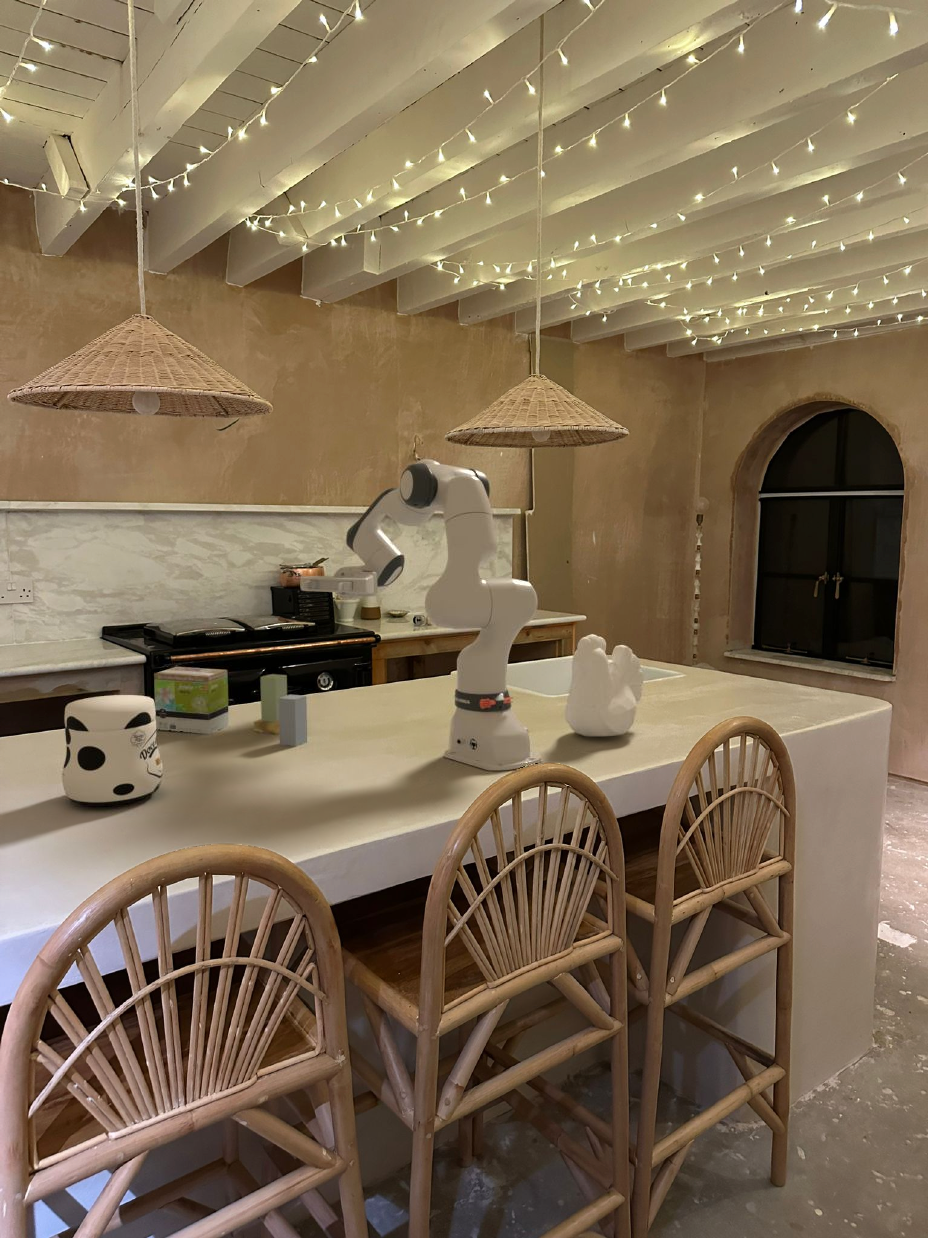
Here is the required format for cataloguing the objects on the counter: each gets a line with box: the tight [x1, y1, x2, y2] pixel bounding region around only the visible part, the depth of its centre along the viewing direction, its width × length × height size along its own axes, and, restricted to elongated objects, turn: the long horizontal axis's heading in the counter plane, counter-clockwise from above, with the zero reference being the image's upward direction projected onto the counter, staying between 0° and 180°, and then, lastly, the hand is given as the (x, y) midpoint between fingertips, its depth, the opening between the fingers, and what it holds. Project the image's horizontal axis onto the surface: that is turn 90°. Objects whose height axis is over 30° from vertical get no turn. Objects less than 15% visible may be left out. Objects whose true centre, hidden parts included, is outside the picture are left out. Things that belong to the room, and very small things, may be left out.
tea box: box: [153, 666, 229, 735], centre depth 213 cm, size 15×10×15 cm, turn 76°
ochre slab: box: [253, 718, 280, 735], centre depth 213 cm, size 7×7×2 cm
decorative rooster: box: [563, 633, 644, 737], centre depth 208 cm, size 25×16×25 cm, turn 120°
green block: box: [260, 673, 288, 723], centre depth 212 cm, size 4×4×11 cm
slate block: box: [279, 693, 308, 747], centre depth 199 cm, size 4×4×11 cm
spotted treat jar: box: [61, 694, 164, 807], centre depth 159 cm, size 17×17×18 cm
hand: (320, 586), depth 219 cm, fingers open, 8 cm apart
